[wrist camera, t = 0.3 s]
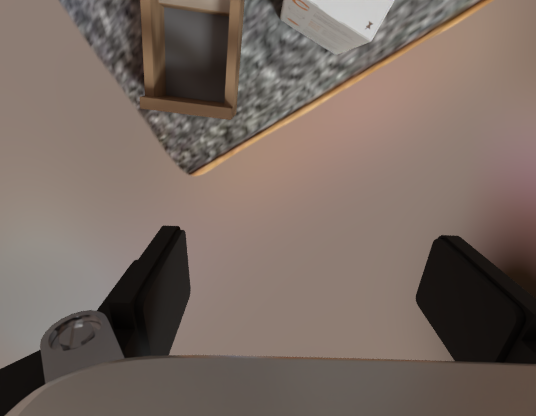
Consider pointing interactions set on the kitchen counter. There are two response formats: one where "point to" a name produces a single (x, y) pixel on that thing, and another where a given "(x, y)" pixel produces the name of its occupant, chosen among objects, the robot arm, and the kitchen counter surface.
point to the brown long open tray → (192, 56)
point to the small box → (336, 21)
